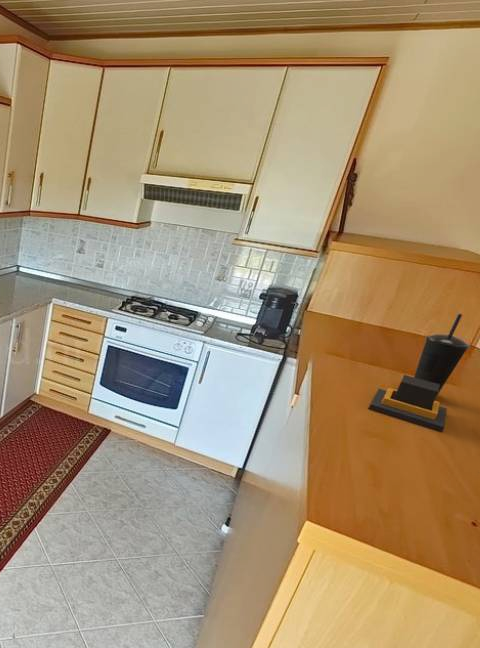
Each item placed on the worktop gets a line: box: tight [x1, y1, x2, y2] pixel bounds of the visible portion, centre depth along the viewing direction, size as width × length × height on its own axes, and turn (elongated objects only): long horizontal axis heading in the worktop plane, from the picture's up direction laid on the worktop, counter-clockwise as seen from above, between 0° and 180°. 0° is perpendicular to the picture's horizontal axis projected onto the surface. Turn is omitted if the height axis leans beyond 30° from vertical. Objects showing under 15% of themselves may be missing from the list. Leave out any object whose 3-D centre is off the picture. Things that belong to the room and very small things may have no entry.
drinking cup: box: [413, 313, 471, 396], centre depth 113 cm, size 8×8×20 cm
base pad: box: [368, 387, 448, 433], centre depth 106 cm, size 14×12×3 cm
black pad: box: [394, 374, 440, 410], centre depth 105 cm, size 6×6×6 cm
